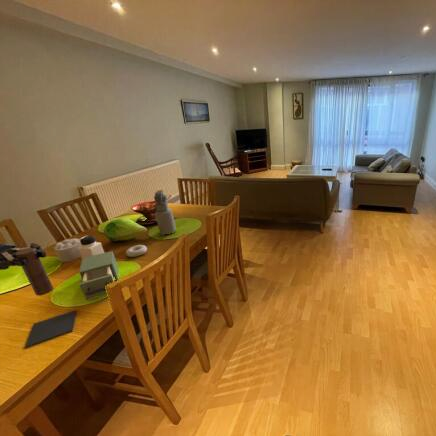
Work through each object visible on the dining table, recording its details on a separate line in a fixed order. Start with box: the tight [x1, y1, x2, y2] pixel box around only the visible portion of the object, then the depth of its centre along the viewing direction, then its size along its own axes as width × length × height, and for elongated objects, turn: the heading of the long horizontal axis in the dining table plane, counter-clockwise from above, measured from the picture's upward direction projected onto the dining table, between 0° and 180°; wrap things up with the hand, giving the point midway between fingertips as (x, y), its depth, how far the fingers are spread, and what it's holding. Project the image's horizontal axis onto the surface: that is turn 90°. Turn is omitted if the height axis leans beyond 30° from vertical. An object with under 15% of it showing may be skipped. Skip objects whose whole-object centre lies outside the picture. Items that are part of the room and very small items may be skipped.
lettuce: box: [103, 217, 148, 243], centre depth 148 cm, size 15×22×15 cm
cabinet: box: [78, 250, 119, 282], centre depth 111 cm, size 14×12×10 cm
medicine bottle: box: [78, 235, 105, 259], centre depth 129 cm, size 7×7×12 cm
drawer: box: [79, 265, 115, 301], centre depth 102 cm, size 17×10×8 cm, turn 35°
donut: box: [125, 244, 148, 258], centre depth 133 cm, size 10×4×10 cm
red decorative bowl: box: [130, 195, 172, 225], centre depth 176 cm, size 28×24×16 cm
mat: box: [24, 309, 78, 349], centre depth 86 cm, size 12×12×1 cm
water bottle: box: [153, 189, 177, 236], centre depth 154 cm, size 10×10×28 cm
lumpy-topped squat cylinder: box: [53, 237, 82, 263], centre depth 130 cm, size 10×13×9 cm
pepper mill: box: [15, 248, 54, 297], centre depth 80 cm, size 4×4×16 cm
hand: (35, 258), depth 77 cm, fingers closed on pepper mill, 4 cm apart
